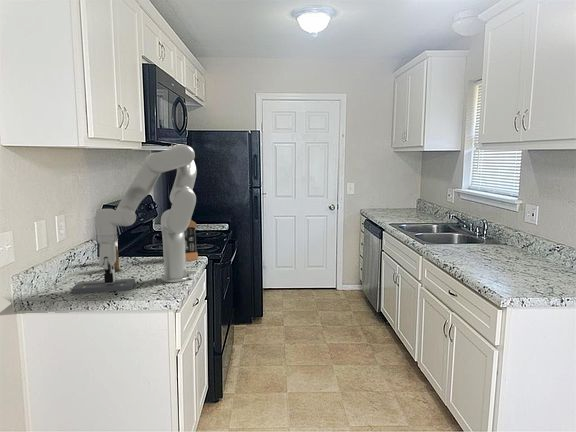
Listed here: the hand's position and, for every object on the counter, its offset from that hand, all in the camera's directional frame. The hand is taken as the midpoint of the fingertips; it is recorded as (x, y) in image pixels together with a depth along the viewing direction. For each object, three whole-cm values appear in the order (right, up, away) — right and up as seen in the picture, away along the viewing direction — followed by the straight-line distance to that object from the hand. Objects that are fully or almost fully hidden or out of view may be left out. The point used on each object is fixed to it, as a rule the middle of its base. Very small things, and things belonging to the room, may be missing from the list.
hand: (110, 280), depth 176 cm
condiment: (-10, +1, +27) cm, 29 cm away
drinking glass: (-17, +3, +41) cm, 44 cm away
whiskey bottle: (+20, +4, +50) cm, 54 cm away
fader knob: (0, -1, 0) cm, 1 cm away
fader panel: (-2, -3, 0) cm, 4 cm away
